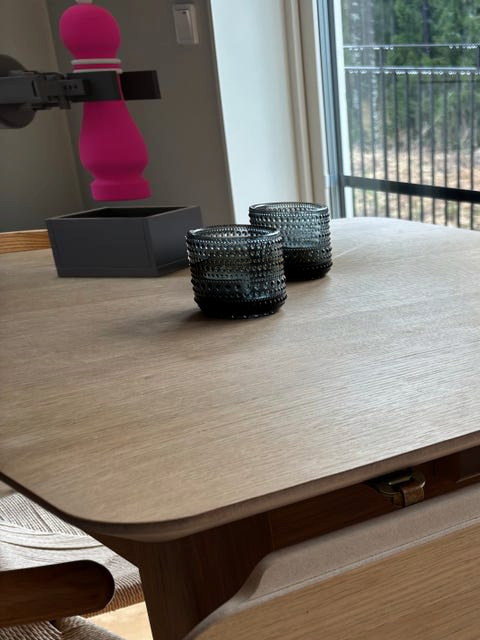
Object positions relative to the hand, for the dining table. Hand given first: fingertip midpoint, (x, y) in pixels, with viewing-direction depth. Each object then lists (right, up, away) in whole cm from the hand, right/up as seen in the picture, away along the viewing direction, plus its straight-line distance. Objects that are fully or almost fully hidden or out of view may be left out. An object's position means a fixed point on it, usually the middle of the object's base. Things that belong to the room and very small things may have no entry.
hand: (136, 85), depth 102 cm
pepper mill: (-4, -9, +8) cm, 12 cm away
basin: (-4, -15, +11) cm, 19 cm away
